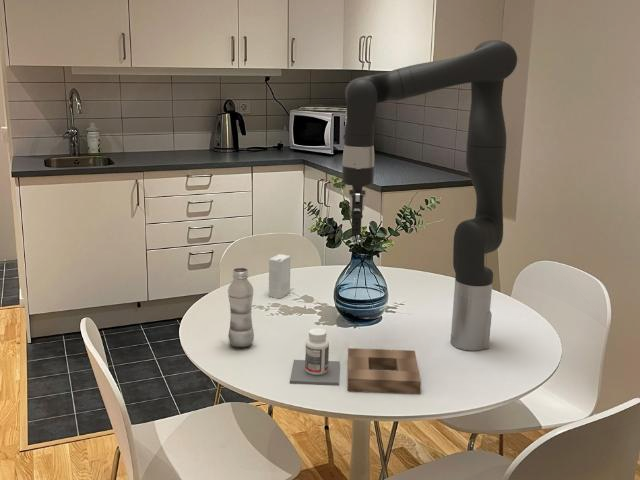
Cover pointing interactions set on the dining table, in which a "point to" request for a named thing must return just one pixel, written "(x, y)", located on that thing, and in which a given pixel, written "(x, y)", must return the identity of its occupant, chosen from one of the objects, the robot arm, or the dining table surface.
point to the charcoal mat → (304, 377)
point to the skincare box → (279, 276)
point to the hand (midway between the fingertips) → (356, 229)
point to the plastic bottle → (240, 309)
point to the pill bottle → (317, 352)
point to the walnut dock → (383, 371)
